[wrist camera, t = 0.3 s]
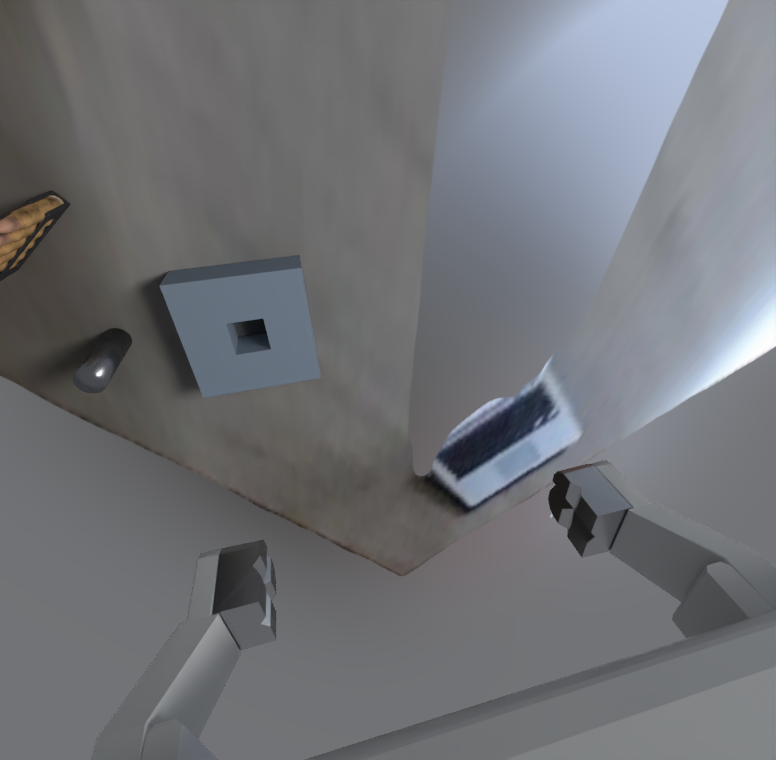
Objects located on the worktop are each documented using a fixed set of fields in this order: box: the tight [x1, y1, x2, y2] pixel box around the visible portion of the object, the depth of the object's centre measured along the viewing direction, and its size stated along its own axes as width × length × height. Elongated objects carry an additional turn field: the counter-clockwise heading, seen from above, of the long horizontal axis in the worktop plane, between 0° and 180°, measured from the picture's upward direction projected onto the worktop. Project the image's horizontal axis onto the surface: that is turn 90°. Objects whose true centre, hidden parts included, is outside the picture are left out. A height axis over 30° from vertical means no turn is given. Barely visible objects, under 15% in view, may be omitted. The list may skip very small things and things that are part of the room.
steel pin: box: [73, 328, 132, 393], centre depth 49 cm, size 3×3×10 cm
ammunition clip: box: [0, 191, 70, 281], centre depth 40 cm, size 11×2×12 cm, turn 130°
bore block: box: [160, 255, 321, 398], centre depth 54 cm, size 16×16×5 cm
